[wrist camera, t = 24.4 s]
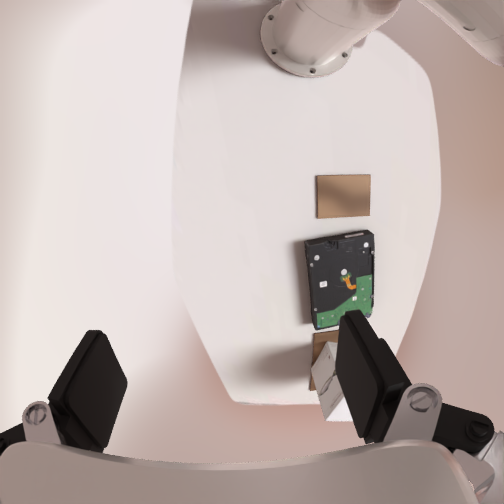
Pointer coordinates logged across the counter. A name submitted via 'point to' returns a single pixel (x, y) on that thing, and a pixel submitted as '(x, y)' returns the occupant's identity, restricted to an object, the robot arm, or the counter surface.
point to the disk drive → (340, 276)
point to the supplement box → (329, 385)
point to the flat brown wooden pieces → (333, 206)
